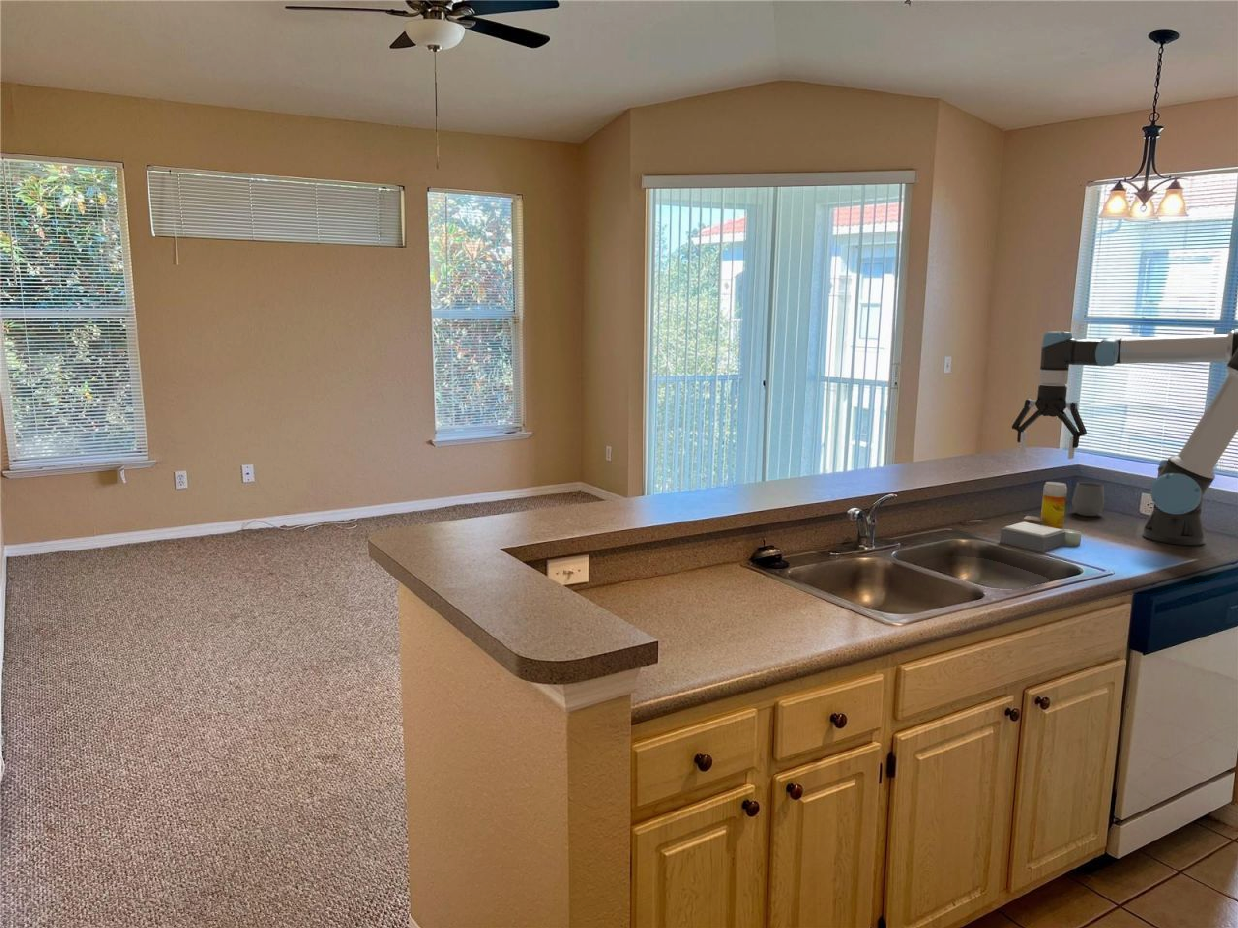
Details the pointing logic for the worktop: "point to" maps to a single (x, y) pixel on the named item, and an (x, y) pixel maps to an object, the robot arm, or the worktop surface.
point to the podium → (1032, 536)
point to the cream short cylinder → (1072, 537)
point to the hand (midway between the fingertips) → (1045, 456)
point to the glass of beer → (1054, 504)
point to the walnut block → (1034, 520)
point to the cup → (1088, 499)
